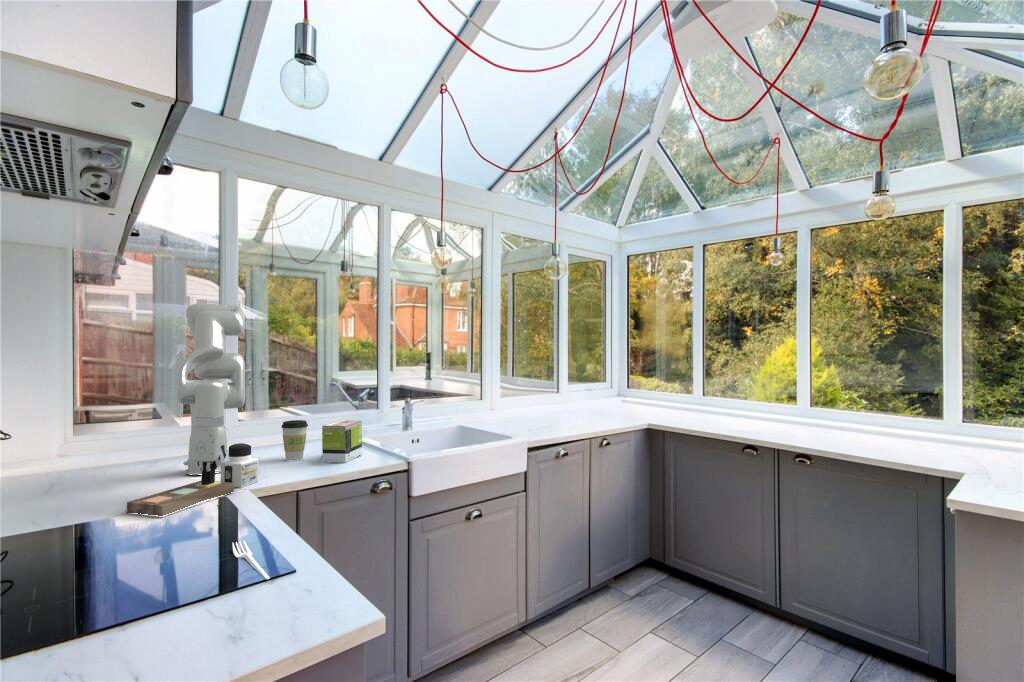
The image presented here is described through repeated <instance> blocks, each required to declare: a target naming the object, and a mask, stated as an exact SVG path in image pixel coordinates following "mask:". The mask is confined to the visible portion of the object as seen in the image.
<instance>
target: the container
mask: <svg viewBox="0 0 1024 682" xmlns="http://www.w3.org/2000/svg"><path fill="white" fill-rule="evenodd" d="M252 445H253V444H252ZM252 445H251V444H250V443H248V442H240V443H233V444H231V445H229V446H228V455H227V456H228V460H224V461H225V463H224V464H222V465H221V473H220V482H229V483H234V488H236V487H238V488H237V489H241V488H244V487H247V486H249V485H253V484H255V483H258V482H259V459H258V458H253V457H252Z"/></svg>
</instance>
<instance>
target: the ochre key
mask: <svg viewBox="0 0 1024 682" xmlns="http://www.w3.org/2000/svg"><path fill="white" fill-rule="evenodd" d="M218 484H221V481H217V482H214V483H212V484H208V485H202V484H201V483H200V484H197V485H195V486H196V487H207V488H208V487H211V486H214V485H218Z"/></svg>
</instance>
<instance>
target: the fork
mask: <svg viewBox="0 0 1024 682" xmlns="http://www.w3.org/2000/svg"><path fill="white" fill-rule="evenodd" d="M242 542H243V544H244V547H243V544H242ZM231 543H232V553H233V555H234V556H235V557H236V558H238V559H243V558H244V559H245V560H246V561H247V562H248V563H249V564H250V566H251V567H252V568H253V569H255V570H256V572H257V573H259V574H260V575H261V576H262V577H263V578H264V579H265V580H269V579H271V577H270V576H269V575H268V574H267V572H266V571H265V570H264V569H263V568H262V567H261V566H260V564H259V563H258V562H257V561H256V560H255V558H254V557H253V552H252V551H251V550H250V548H249V546H248V545H247V543H246V541H245V539H243V540H242V541H241V540H239V542H237V541H236V542H235V543H234V542H231ZM238 543H239V544H238Z"/></svg>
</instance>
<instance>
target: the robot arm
mask: <svg viewBox="0 0 1024 682" xmlns="http://www.w3.org/2000/svg"><path fill="white" fill-rule="evenodd" d="M185 317H186V321H187V325H188V328H189V331H190V333H191V335H192V337H193V341H194V348H193V349H194V350H193V352H192V353H191V354H190V355H188V356H187V357H186V358H185V359H183V361H182V363H181V364H180V365H179V368H178V370H177V373H176V387H175V394H176V395H175V396H176V400H177V401H178V403H180V404H182V405H189V407H190V408H189V409H190V422H191V423H190V425H191V426H190V436H189V443H188V444H189V445H188V459H187V460H185V461H184V462H183V465H184V466H187V467H188V468H186V469H185V471H184V474H185V473H186V474H192V475H198V474H202V476H201V480H202V482H201V484H202V485H208V484H212V483H214V482H215V481H216V474H215V472H221V465H222V464H224V463H225V461H226V460H225V459H226V458H227V456H228V455H227V453H228V444H227V443H228V442H227V441H228V440H227V432H226V428H225V426H224V425H225V423H224V421H225V410H226V409H227V410H229V409H230V410H231V409H238V408H242V407H243V406H244V405H245V402H246V362H245V358H244V357H243V355H242V354H240V353H236V352H235V353H234V352H225V349H226V348H225V336H229V337H230V336H231V337H232V336H233V337H237V336H238V337H239V336H241V335H243V334H244V331H245V326H246V325H245V324H246V323H245V314H244V312H243V308H242V307H241V306H239V305H238V304H226V303H225V304H223V303H222V304H221V303H219V304H218V303H207V302H206V303H205V302H204V303H202V302H201V303H192V304H190V305H188V306H187V307H186V311H185ZM192 371H194V374H195V376H196V378H198V379H188V376H189V374H190V372H192ZM226 380H230V381H231V382H227V381H226ZM186 474H185V475H186Z"/></svg>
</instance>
